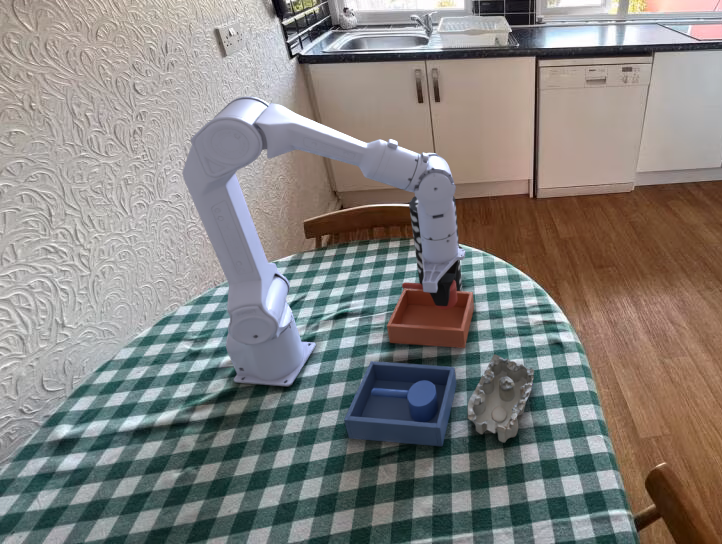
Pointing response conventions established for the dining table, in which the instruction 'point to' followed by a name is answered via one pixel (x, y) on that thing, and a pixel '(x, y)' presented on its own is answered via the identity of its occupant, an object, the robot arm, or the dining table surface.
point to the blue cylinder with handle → (415, 399)
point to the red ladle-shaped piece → (450, 304)
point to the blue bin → (400, 404)
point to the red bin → (430, 320)
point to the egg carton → (500, 397)
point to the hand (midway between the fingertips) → (444, 294)
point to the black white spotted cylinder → (417, 240)
